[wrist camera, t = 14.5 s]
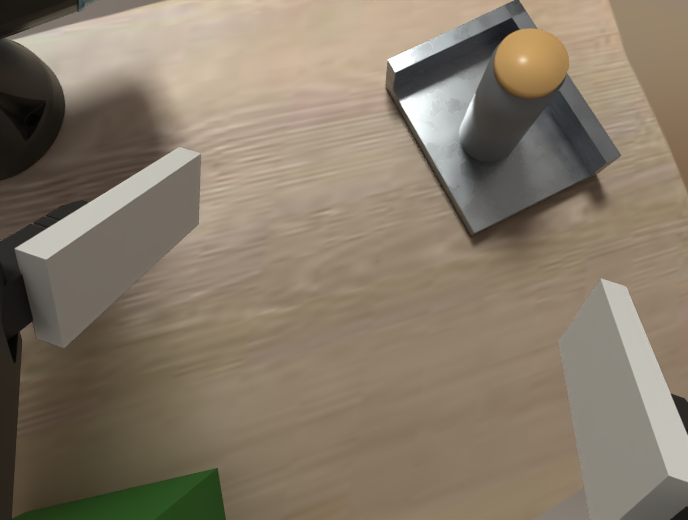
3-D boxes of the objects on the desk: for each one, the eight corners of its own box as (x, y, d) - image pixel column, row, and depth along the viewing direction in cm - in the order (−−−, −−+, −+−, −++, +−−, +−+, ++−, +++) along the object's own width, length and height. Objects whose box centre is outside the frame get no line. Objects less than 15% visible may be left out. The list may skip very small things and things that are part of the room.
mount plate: (385, 86, 49) (387, 59, 45) (503, 30, 50) (517, -2, 45) (470, 236, 46) (482, 224, 41) (596, 174, 46) (621, 155, 42)
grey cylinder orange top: (448, 123, 46) (478, 46, 34) (498, 99, 47) (545, 13, 35) (477, 171, 45) (518, 108, 33) (528, 146, 46) (586, 74, 34)
